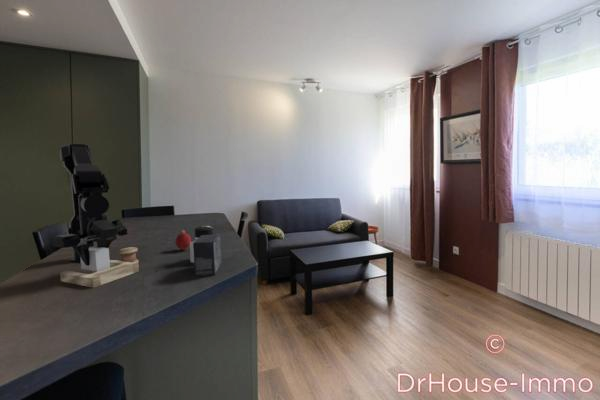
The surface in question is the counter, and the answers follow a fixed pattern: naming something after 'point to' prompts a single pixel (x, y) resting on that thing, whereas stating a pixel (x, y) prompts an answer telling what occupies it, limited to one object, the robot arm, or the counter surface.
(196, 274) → the small box
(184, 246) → the onion
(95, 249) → the tall pale grey block
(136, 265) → the notched board
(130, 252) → the wooden spool
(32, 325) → the counter surface
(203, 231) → the medicine bottle
